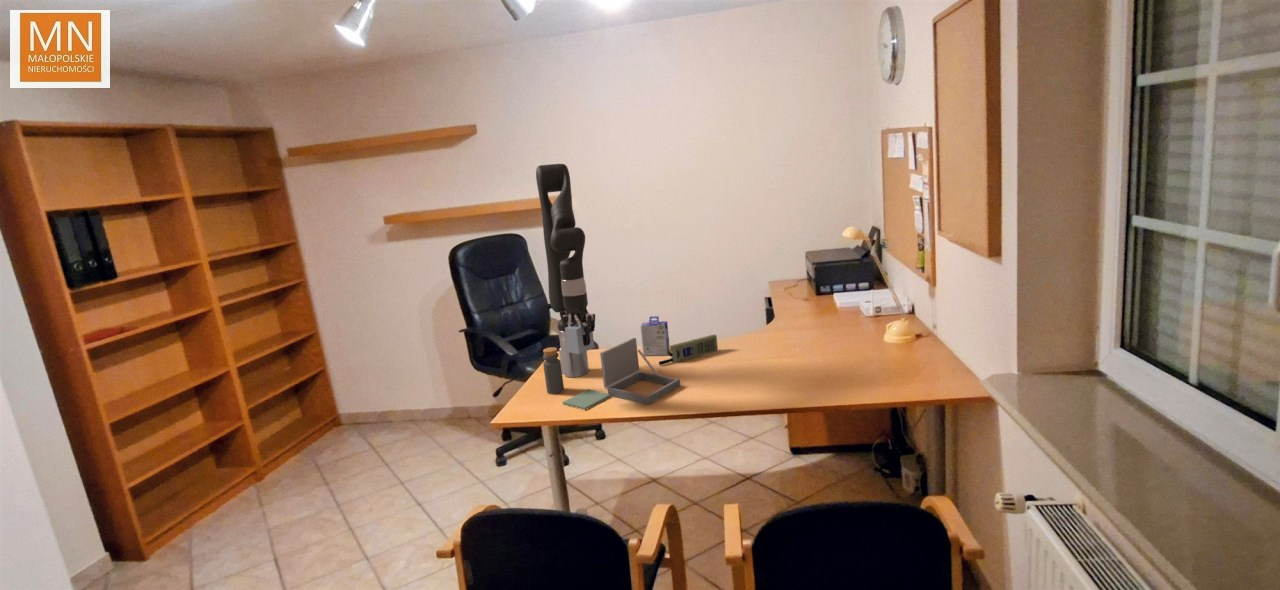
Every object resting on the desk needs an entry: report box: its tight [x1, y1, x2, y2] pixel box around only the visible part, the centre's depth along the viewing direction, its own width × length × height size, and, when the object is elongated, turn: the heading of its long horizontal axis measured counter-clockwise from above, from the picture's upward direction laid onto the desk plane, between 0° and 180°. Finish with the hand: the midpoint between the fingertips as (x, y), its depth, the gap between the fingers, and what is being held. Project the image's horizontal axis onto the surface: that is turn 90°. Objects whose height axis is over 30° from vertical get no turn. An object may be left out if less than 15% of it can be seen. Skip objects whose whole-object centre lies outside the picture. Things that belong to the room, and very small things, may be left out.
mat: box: [562, 388, 612, 410], centre depth 205 cm, size 10×12×1 cm
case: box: [599, 337, 681, 406], centre depth 207 cm, size 18×18×14 cm
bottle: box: [542, 347, 565, 395], centre depth 214 cm, size 6×6×15 cm
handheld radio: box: [658, 334, 719, 366], centre depth 235 cm, size 7×3×25 cm
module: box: [565, 322, 595, 354], centre depth 200 cm, size 5×7×8 cm
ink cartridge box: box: [640, 315, 671, 357], centre depth 243 cm, size 10×6×14 cm, turn 79°
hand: (580, 343), depth 200 cm, fingers closed on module, 5 cm apart
